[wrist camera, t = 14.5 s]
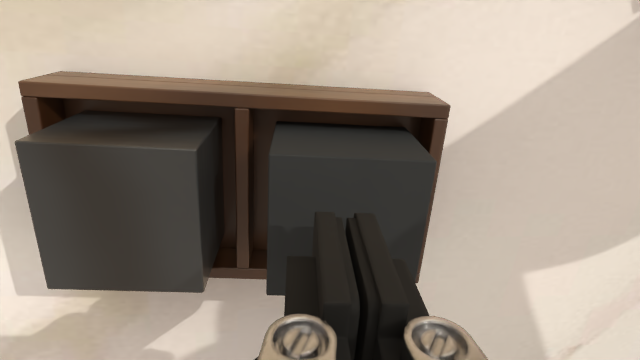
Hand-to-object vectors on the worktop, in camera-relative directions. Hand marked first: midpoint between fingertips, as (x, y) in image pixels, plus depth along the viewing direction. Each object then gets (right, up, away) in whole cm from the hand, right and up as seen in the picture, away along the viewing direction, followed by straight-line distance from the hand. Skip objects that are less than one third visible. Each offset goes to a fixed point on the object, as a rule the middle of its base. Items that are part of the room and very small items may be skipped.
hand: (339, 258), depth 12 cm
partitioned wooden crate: (-3, +3, +6) cm, 7 cm away
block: (0, +2, +5) cm, 5 cm away
